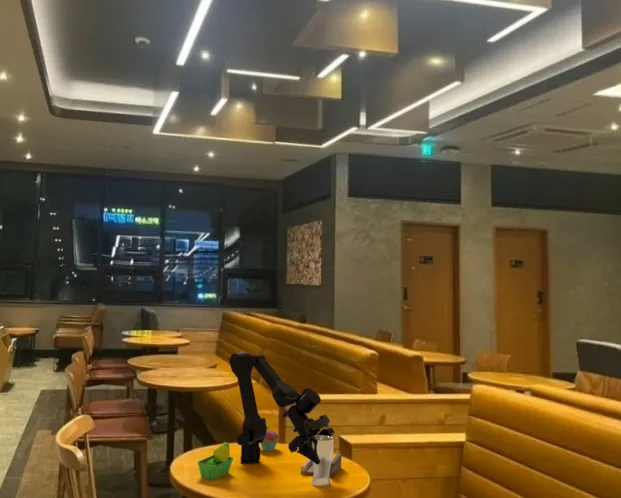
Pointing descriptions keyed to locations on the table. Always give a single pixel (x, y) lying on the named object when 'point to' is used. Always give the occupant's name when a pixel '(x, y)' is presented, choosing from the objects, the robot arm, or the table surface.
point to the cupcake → (270, 440)
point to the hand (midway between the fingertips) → (325, 461)
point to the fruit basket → (216, 463)
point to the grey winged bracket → (335, 467)
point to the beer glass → (322, 460)
